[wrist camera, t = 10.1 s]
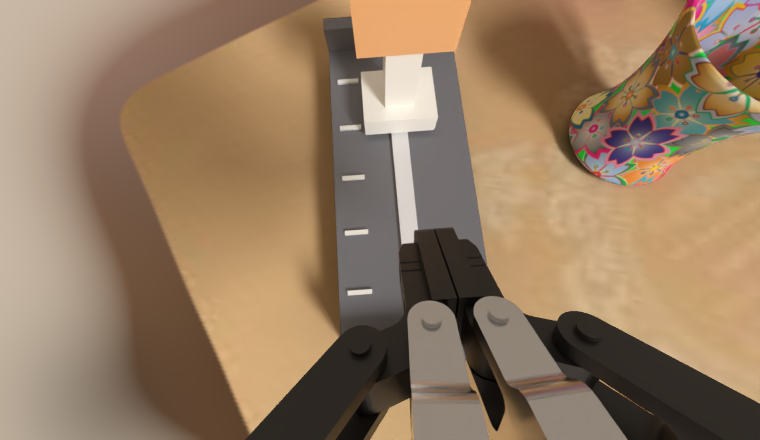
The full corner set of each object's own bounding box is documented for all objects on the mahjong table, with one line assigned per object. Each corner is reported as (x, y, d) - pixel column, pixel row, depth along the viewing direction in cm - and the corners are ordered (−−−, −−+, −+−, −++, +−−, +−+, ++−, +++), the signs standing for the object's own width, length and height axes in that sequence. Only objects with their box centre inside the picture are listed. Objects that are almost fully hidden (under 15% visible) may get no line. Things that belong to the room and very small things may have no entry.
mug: (656, 212, 22) (889, 151, 12) (543, 168, 23) (671, 77, 13) (686, 92, 25) (903, -46, 14) (582, 56, 26) (717, -97, 15)
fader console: (483, 337, 21) (514, 355, 16) (347, 348, 21) (336, 368, 16) (443, 60, 26) (456, 8, 21) (334, 68, 26) (323, 18, 21)
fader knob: (433, 129, 20) (476, 0, 11) (365, 135, 20) (350, 10, 11) (427, 82, 21) (462, -75, 12) (362, 87, 21) (345, -67, 12)
